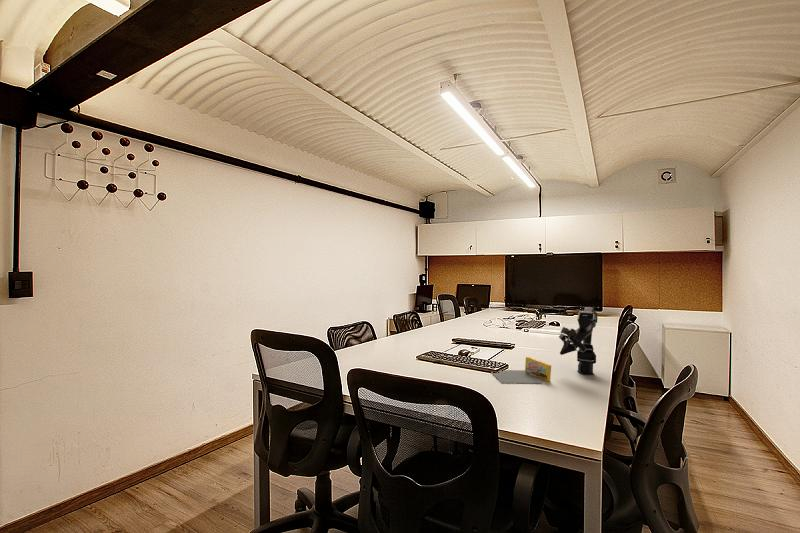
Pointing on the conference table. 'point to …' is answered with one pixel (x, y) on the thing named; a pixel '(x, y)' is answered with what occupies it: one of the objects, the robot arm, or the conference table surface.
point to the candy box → (538, 368)
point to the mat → (516, 377)
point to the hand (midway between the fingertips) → (560, 354)
